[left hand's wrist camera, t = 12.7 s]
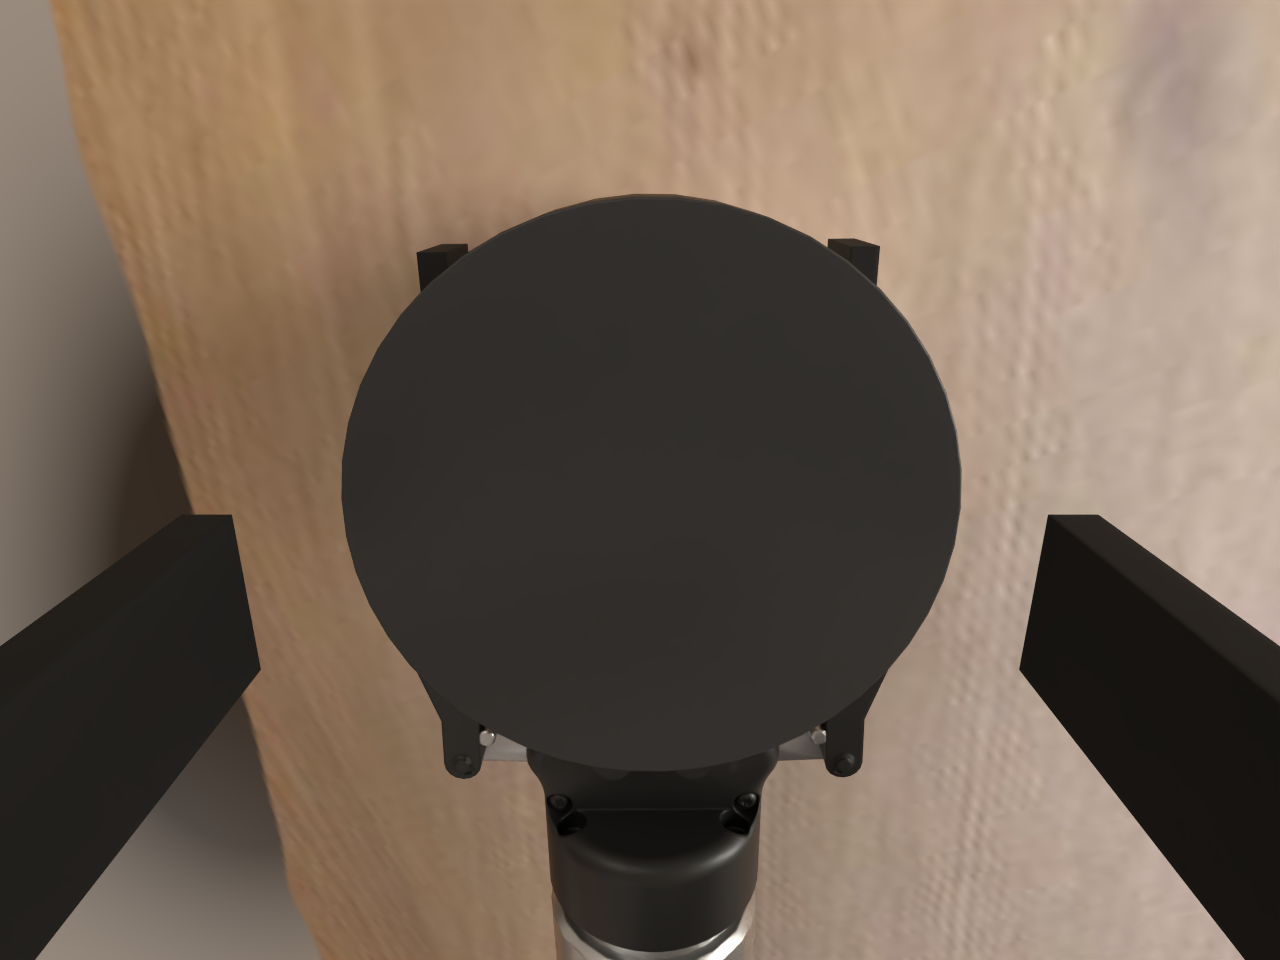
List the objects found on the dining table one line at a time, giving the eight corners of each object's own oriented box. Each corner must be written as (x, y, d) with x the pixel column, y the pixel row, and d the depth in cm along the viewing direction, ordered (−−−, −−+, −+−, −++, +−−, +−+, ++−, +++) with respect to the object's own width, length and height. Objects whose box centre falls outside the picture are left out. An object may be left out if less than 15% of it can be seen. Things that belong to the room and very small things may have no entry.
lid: (283, 303, 16) (227, 324, 14) (854, 106, 14) (890, 93, 12) (497, 756, 19) (479, 827, 17) (966, 631, 18) (1008, 691, 16)
